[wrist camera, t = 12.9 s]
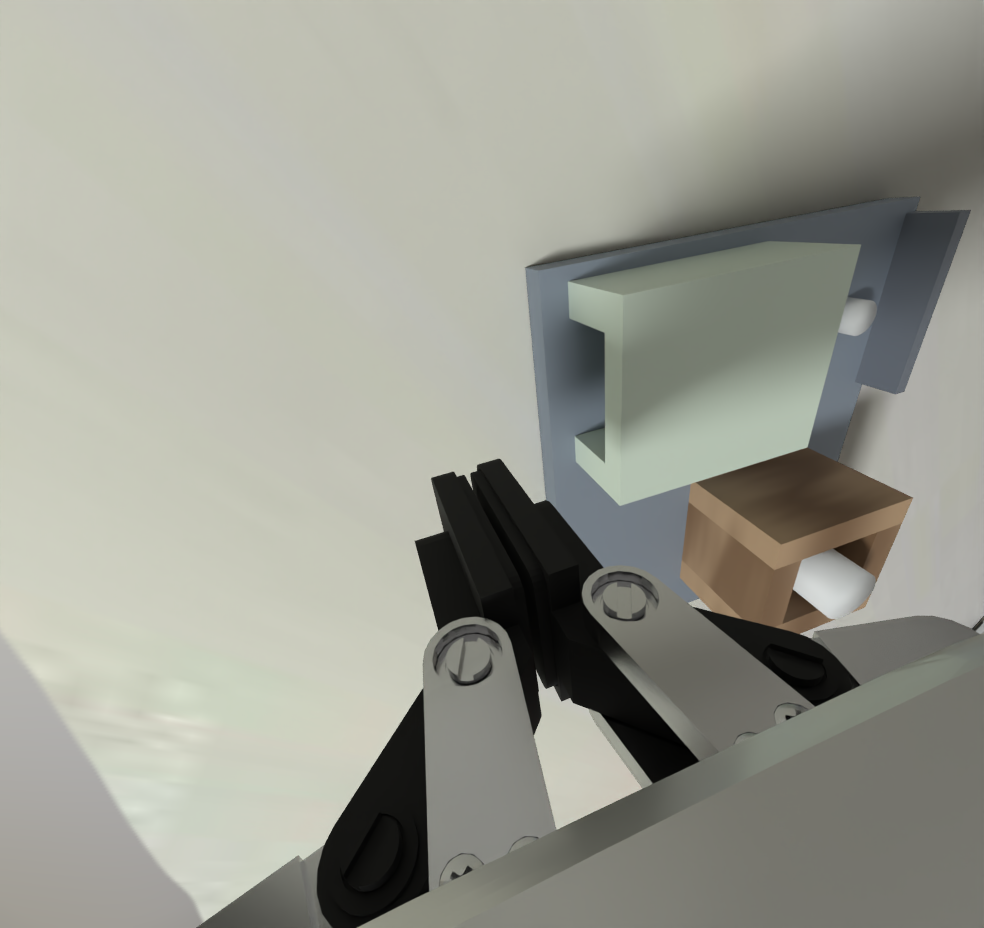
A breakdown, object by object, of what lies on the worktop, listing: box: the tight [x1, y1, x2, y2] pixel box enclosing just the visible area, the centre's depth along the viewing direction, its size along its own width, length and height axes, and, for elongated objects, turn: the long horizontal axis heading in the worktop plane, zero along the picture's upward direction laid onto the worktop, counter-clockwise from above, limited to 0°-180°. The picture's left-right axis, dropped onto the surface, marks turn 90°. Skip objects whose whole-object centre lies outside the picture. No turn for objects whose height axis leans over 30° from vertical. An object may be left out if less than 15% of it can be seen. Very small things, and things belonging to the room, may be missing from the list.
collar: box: [680, 448, 913, 634], centre depth 21 cm, size 6×6×5 cm
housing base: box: [525, 197, 971, 619], centre depth 18 cm, size 16×19×7 cm
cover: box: [568, 241, 861, 506], centre depth 16 cm, size 8×7×3 cm
